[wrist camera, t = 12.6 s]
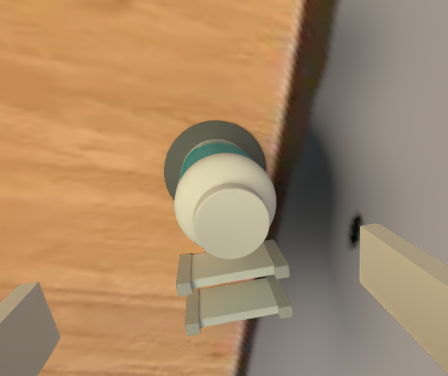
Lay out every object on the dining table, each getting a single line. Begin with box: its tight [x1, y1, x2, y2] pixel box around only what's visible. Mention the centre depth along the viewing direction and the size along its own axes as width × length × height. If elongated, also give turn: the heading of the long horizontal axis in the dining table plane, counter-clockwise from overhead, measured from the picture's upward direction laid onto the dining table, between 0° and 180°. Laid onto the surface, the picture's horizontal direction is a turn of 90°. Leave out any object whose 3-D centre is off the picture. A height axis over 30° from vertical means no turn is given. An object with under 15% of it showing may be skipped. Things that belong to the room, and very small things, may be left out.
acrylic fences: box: [176, 239, 293, 336], centre depth 30 cm, size 11×6×6 cm, turn 98°
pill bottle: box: [174, 139, 276, 259], centre depth 22 cm, size 8×7×14 cm
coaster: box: [164, 121, 266, 201], centre depth 29 cm, size 11×11×1 cm
